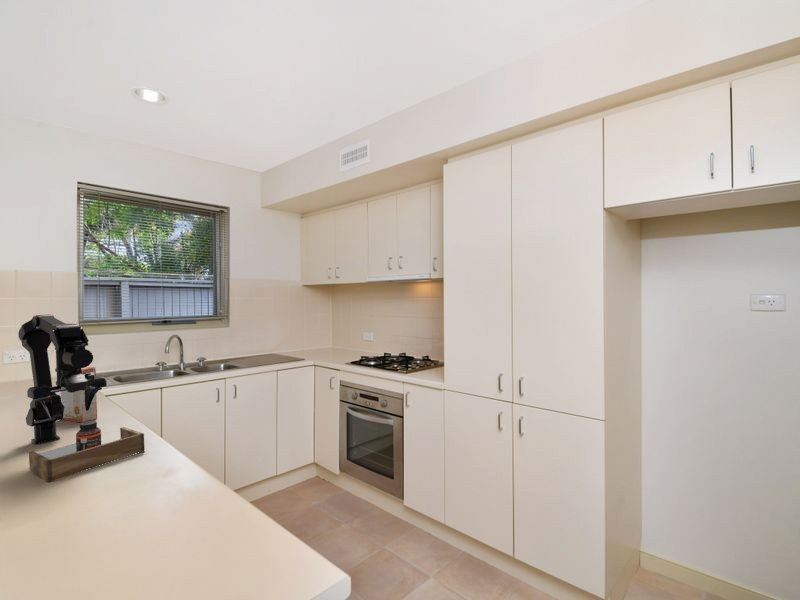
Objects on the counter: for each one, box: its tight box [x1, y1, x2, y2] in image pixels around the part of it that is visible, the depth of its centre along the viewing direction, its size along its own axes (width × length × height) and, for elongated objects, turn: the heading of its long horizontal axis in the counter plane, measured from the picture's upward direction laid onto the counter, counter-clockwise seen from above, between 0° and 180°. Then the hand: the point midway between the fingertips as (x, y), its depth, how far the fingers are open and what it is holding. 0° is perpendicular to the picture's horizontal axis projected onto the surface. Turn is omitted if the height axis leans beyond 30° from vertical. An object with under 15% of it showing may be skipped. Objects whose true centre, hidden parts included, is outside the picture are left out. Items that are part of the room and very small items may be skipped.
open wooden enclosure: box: [28, 426, 145, 483], centre depth 122 cm, size 13×24×6 cm, turn 148°
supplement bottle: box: [75, 420, 102, 452], centre depth 122 cm, size 6×6×11 cm
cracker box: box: [60, 366, 98, 424], centre depth 164 cm, size 14×6×21 cm, turn 65°
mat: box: [37, 442, 76, 459], centre depth 129 cm, size 14×14×1 cm
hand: (69, 414), depth 130 cm, fingers open, 9 cm apart
